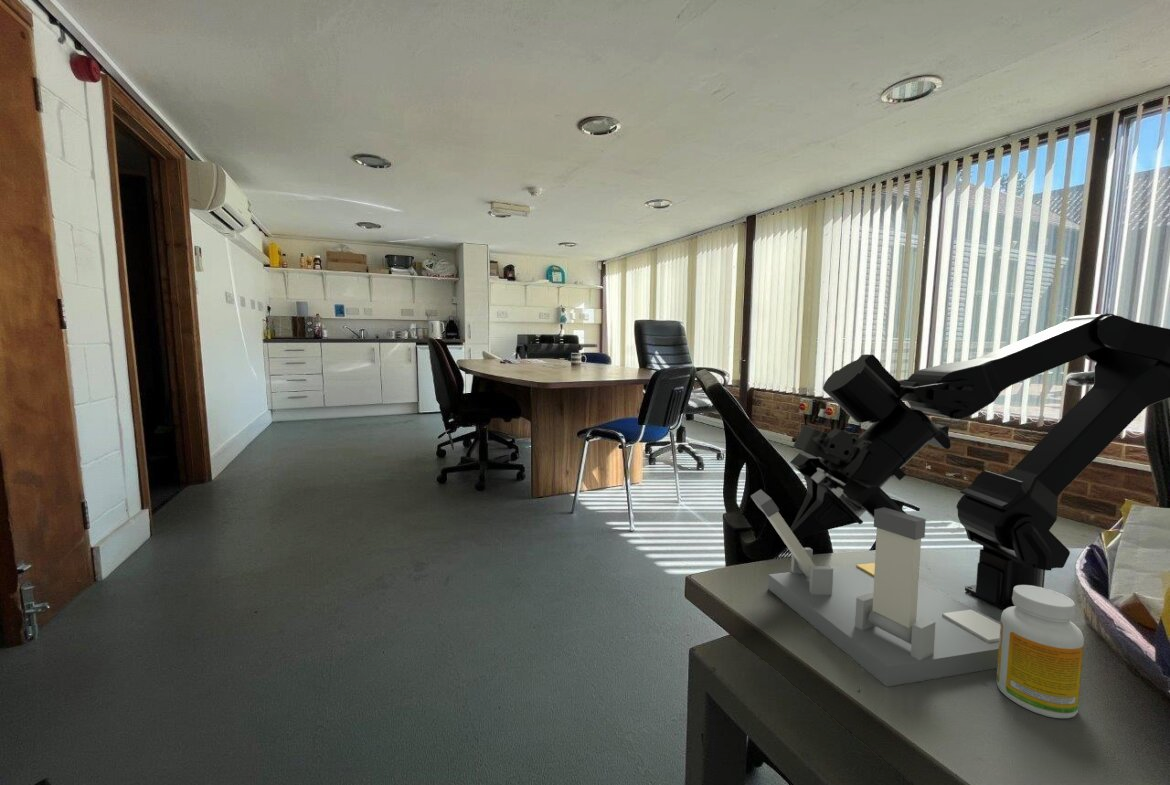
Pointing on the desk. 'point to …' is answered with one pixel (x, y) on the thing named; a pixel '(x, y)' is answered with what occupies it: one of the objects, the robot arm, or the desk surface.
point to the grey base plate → (840, 612)
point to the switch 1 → (783, 530)
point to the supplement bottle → (1040, 652)
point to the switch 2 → (896, 571)
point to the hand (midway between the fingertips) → (792, 535)
